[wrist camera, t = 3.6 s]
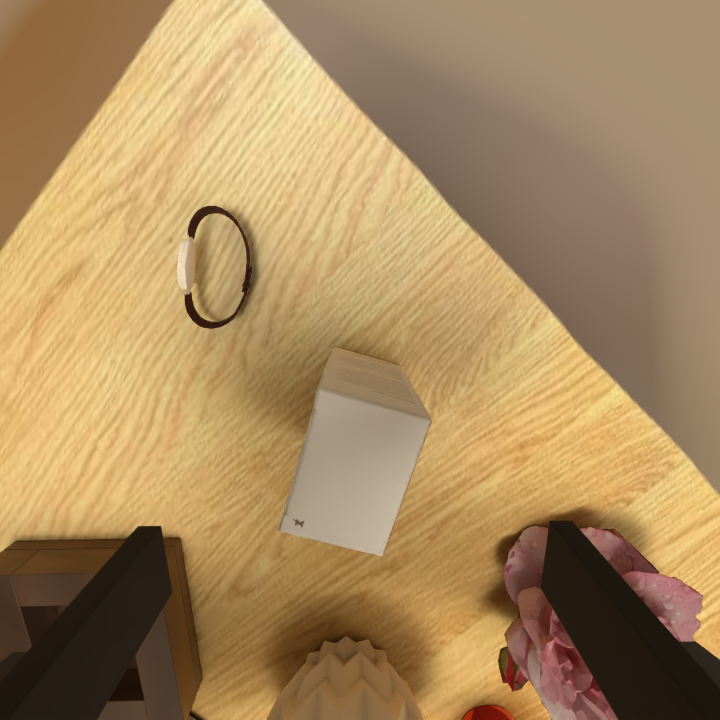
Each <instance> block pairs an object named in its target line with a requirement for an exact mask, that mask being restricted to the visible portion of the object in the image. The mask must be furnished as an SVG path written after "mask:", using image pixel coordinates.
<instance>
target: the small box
mask: <svg viewBox="0 0 720 720" xmlns="http://www.w3.org/2000/svg"><path fill="white" fill-rule="evenodd" d="M431 422H432V421H431V418H430V416H429V414H428V412H427V411H426V409H425V407H424V405H423V403H422V402H421V400H420V398H419V396H418V395H417V393H416V391H415V389H414V387H413V386H412V384H411V382H410V380H409V378H408V377H407V375H406V373H405V371H404V370H403V368H402V366H400V365H396V364H393V363H390V362H386V361H383V360H380V359H376V358H373V357H369V356H366V355H362V354H359V353H355V352H352V351H348V350H344V349H341V348H337V347H333V348H332V351H331V353H330V356H329V359H328V361H327V364H326V367H325V369H324V372H323V375H322V377H321V380H320V383H319V385H318V388H317V391H316V395H315V400H314V405H313V409H312V413H311V417H310V420H309V424H308V427H307V431H306V435H305V438H304V442H303V445H302V449H301V453H300V456H299V460H298V463H297V467H296V470H295V474H294V477H293V481H292V484H291V488H290V491H289V495H288V498H287V502H286V506H285V509H284V512H283V515H282V518H281V522H280V525H279V528H278V529H279V531H280V532H284V533H288V534H292V535H296V536H300V537H304V538H308V539H312V540H316V541H320V542H325V543H329V544H333V545H337V546H341V547H345V548H349V549H353V550H357V551H362V552H366V553H371V554H376V555H379V556H382V555H384V552H385V549H386V546H387V544H388V541H389V538H390V536H391V533H392V530H393V527H394V524H395V521H396V519H397V516H398V513H399V510H400V507H401V505H402V502H403V499H404V496H405V493H406V491H407V488H408V485H409V482H410V479H411V476H412V474H413V471H414V468H415V465H416V462H417V460H418V457H419V454H420V452H421V449H422V446H423V443H424V440H425V438H426V435H427V432H428V429H429V426H430V424H431Z"/></svg>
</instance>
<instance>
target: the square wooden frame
mask: <svg viewBox="0 0 720 720" xmlns="http://www.w3.org/2000/svg"><path fill="white" fill-rule="evenodd" d="M126 540H127V539H113V540H59V541H15V542H14V543H12V544H11V545H10V546H8V547H7V548H6V549H4V551H2V552H1V553H0V662H1V661H2V660H3V659H5V658H6V657H7V656H9V655H10V654H11V653H13V652H27V651H28V650H29V649H30V648H31V647H32V646H33V645H34V643H35V642H36V641H37V640H38V639H39V638H40V637H41V636H42V634H43V633H44V632H45V631H46V630H47V629H48V628H49V627H50V625H51V624H52V623H53V622H54V621H55V620H56V619H57V618H58V616H59V615H60V614H61V613H62V612H63V611H64V610H65V608H66V607H67V606H68V605H69V604H70V603H71V602H72V601H73V599H74V598H75V597H76V596H77V595H78V594H79V593H80V592H81V590H82V589H83V588H84V587H85V586H86V585H87V584H88V583H89V581H90V580H91V579H92V578H93V577H94V576H95V575H96V574H97V572H98V571H99V570H100V569H101V568H102V567H103V566H104V564H105V563H106V562H107V561H108V560H109V559H110V558H111V557H112V555H113V554H114V553H115V552H116V551H117V550H118V549H119V548H120V546H121V545H122V544H123V543H124V542H125V541H126ZM163 541H164V546H165V552H166V558H167V563H168V569H169V575H170V581H171V586H172V594H171V596H170V597H169V599H168V601H167V603H166V604H165V606H164V608H163V609H162V611H161V613H160V614H159V616H158V618H157V619H156V621H155V623H154V625H153V626H152V628H151V630H150V631H149V633H148V635H147V636H146V638H145V640H144V641H143V643H142V645H141V647H140V648H139V650H138V652H137V653H136V655H135V657H134V658H133V660H132V662H131V663H130V665H129V667H128V669H127V670H126V672H125V674H124V675H123V677H122V679H121V680H120V682H119V684H118V685H117V687H116V689H115V691H114V692H113V694H112V696H111V697H110V699H109V701H108V702H107V704H106V706H105V707H104V709H103V711H102V713H101V714H100V716H99V718H98V719H97V720H187V718H188V716H189V713H190V710H191V708H192V705H193V703H194V700H195V697H196V695H197V692H198V689H199V687H200V684H201V682H202V674H201V668H200V662H199V655H198V649H197V643H196V636H195V630H194V624H193V617H192V611H191V605H190V598H189V592H188V586H187V579H186V573H185V567H184V560H183V554H182V548H181V541H180V538H167V539H163Z"/></svg>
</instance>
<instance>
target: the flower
mask: <svg viewBox="0 0 720 720" xmlns="http://www.w3.org/2000/svg"><path fill="white" fill-rule="evenodd" d="M580 530H581V531H582V532H583V534H584V535H585V536H586V537H587V538H588V539H589V540H590V541H591V543H592V544H593V545H594V546H595V547H596V548H597V549H598V551H599V552H600V553H601V554H602V555H603V556H604V557H605V558H606V560H607V561H608V562H609V563H610V564H611V565H612V566H613V568H614V569H615V570H616V571H617V572H618V573H619V574H620V576H621V577H622V578H623V579H624V580H625V581H626V582H627V583H628V585H629V586H630V587H631V588H632V589H633V590H634V591H635V593H636V594H637V595H638V596H639V597H640V598H641V599H642V600H643V602H644V603H645V604H646V605H647V606H648V607H649V608H650V610H651V611H652V612H653V613H654V614H655V615H656V616H657V617H658V619H659V620H660V621H661V622H662V623H663V624H664V625H665V627H666V628H667V629H668V630H669V631H670V632H671V633H672V634H673V636H674V637H675V638H676V639H677V640H678V641H679V642H684V641H694V639H693V635H694V633H695V632H696V631H697V630H698V629H699V628H700V621H699V620H698V619H697V618H696V617H695V615H697V614H698V613H700V611H701V609H702V597H703V595H701V594H700V593H699V592H697V591H696V590H694V589H693V588H692V587H690V586H688V585H686V584H684V583H683V581H681V580H679V579H677V578H675V577H668V576H665V575H662V574H659V571H658V570H657V569H656V568H655V567H654V566H653V565H652V564H651V563H650V562H649V561H648V560H647V559H646V558H645V557H643V556H642V555H641V554H640V553H639V552H638V551H637V550H636V549H635V548H634V547H633V546H632V545H631V544H630V543H629V542H628V541H627V540H626V539H625V538H624V537H623V536H622V535H621V534H620V533H619V532H617V531H616V530H615V529H602V530H600V529H596V528H592V527H587V528H582V529H580ZM547 536H548V528H546V527H543V526H537V525H536V526H532V527H529V528H527V529H525V530H524V531H523V532H522V534H521V536H520V537H519V538H518V539H517V541H516V543H515V545H514V546H513V547H512V548H511V549H510V550H509V552H508V561H507V563H506V565H505V568H504V580H505V585H506V589H507V592H508V594H509V596H510V598H511V599H512V600H513V601H514V603H515V604H516V605H518V606H519V612H518V618H517V619H516V620H515V621H514V622H512V623H511V625H510V626H509V628H508V629H507V631H506V632H505V638H506V642H507V647H504V648H502V649H500V654H499V659H498V663H499V669H500V673H501V677H502V681H503V683H508V684H509V686H510V687H511V689H512V691H513V692H514V691H515V690H520V689H522V687H523V686H524V684H525V683H526V682H527V681H528V680H529V681H530V682H531V683H532V685H533V686H534V688H535V689H536V691H537V693H538V695H539V697H540V698H541V701H542V704H543V705H544V706H545V708H546V709H547V711H548V712H549V714H550V716H551V720H618V719H617V717H616V715H615V714H614V712H613V710H612V708H611V707H610V705H609V703H608V702H607V700H606V698H605V697H604V695H603V693H602V691H601V690H600V688H599V686H598V685H597V683H596V681H595V680H594V678H593V676H592V674H591V673H590V671H589V669H588V668H587V666H586V664H585V663H584V661H583V659H582V657H581V656H580V654H579V652H578V651H577V649H576V647H575V646H574V644H573V642H572V640H571V639H570V637H569V635H568V634H567V632H566V630H565V629H564V627H563V625H562V623H561V622H560V620H559V618H558V617H557V615H556V613H555V612H554V610H553V608H552V606H551V605H550V603H549V601H548V600H547V598H546V596H545V595H544V593H543V591H542V589H541V588H540V586H541V579H542V576H540V575H542V572H543V565H544V558H545V550H546V543H547Z"/></svg>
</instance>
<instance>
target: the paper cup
mask: <svg viewBox="0 0 720 720" xmlns="http://www.w3.org/2000/svg"><path fill="white" fill-rule="evenodd" d="M462 720H514V719H513V717H512V715H511V714H510V713H509V712H508V711H507V710H506V709H504V708H502V707H499V706H493V705H486V706H480V707H477V708H475V709H473V710H471V711H469V712H468V713H467V714H466V715H465V716H464V717H463V718H462Z"/></svg>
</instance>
